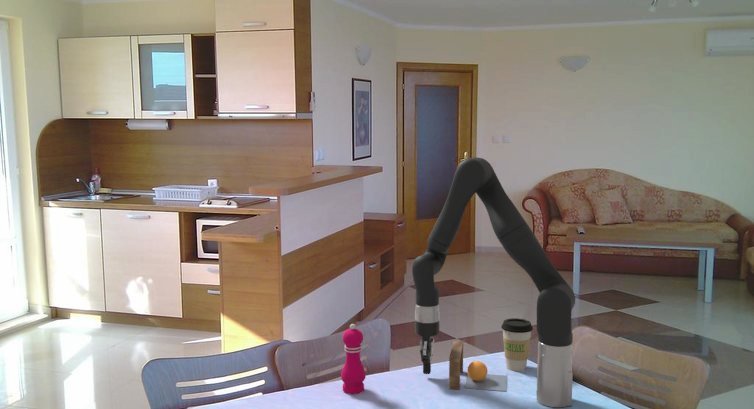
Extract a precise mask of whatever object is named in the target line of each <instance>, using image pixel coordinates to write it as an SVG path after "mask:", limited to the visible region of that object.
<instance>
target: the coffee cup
mask: <svg viewBox="0 0 754 409" xmlns="http://www.w3.org/2000/svg"><path fill="white" fill-rule="evenodd" d="M501 329H502V341H503V351H504V358H505V364H506V365H505V367H506V369H507V370H508V371H509V370H510V371H513V372H522V371H525V370H526V369H527V365H528V364H527V363H528V359H529V352H530V347H531V340H532V337H531V336H532V331H533V325H532V323H531V321H530V320H527V319H524V318H518V317H517V318H513V317H512V318H507V319H504V320H503V322H502V324H501Z"/></svg>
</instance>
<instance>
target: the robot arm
mask: <svg viewBox="0 0 754 409" xmlns="http://www.w3.org/2000/svg"><path fill="white" fill-rule="evenodd" d="M454 172H455V173H454V175H453V179H452V182H451V186H450V189H449V191H448V195H447V198H446V199H445V202H444V205H443V207H442V210H441V212H440V213H439V216H438V218H437V220H436V222H435V223H434V226H433V227H432V229H431V231H430V233H429V235H428V238H427V248H426V250H425V252H424V253H423V254H421V255H419V256H417V257H415V259H414V260H413V262H412V267H411V273H412V279H413V285H414V289H415V307H414V333H415V334H416V335H417V336H420V337H421V339H420V340H419V347H420V350H419V352H420V353H419V354H420V359H421V363H422V374H425V375H430V374H431V372H432V359H433V358H432V357H433V353H434V344H435V338H434V337H436V336H438V335H439V334H440V327H441V326H440V324H441V323H440V322H441V321H440V316H441V314H440V313H441V312H440V292H439V291H440V290H439V287H438V286H437V285H436V284H435V279H434V278H435V277H434V276H435V275H437V274H438V273H439V272H440V271H441V270H442V269H443V266H444V264H445V262H446V259H447V255H448V252H449V250H450V247H451V246H452V244H453V242H454V240H455V238H456V236H457V235H458V232H459V230H460V227H461V224H462V220H463V217H464V213H465V210H466V209H467V206H468V204H469V202H470V200H472V198H473V196H474V195H475V194H476V195H477V197H478V198H479V199H480V201H481V202H482V203H483V205H484V207H485V209H486V212H487V215H488V218H489V221H490V224H491V227H492V229H493V233H494V234H495V236H496V238H497V240H498V241H499V243H500V244H501V246H502V248H503V249H504V250H505V252H506V253H507V255H508V256H509V257H510V258H511V259H512V260H513V261H514V262H515V263H516V264H517V265H518V266H519V267H520V268H522V269H523V270H524V271H525V273H526V274H527V275H528V276H529V277H530V278H531V280H532V282H533V284H534V286H535V287H536V289H537V290H538V292H539V294H538V295H537V296H538V297H537V299H536V331H537V364H536V365H537V368H536V369H537V371H536V374H537V375H536V401H537V402H538V403H539V404H541V405H542V406H546V407H551V408H564V407H572V405H573V404H572V403H573V401H572V400H573V369H572V368H573V367H572V366H573V340H574V339H573V338H574V335H573V331H572V310H573V308H574V306H575V305H576V296H575V293H574V291H573V289H572V287H571V286H570V285H569V284H568V283H567V281H566V280H565V278H564V277H563V276H562V275H561V273H560V272H559V271H558V270H557V269H556V267H555V266H554V264H553V263H552V262H551V260H550V258H549V257H548V255H547V254H546V251H545V249H544V247H543V246H542V245H541V244H540V242H539V240H538V238H537V237H536V235H535V234H534V232H533V231H532V229H531V227H530V226H529V224H528V223H527V221H526V219H525V218H524V217H523V215H522V214H521V213H520V211H519V210H518V208H517V207H516V205H515V204H514V203H513V201H512V200H511V198H510V197H509V195H508V194H507V193H506V191H505V189H504V187H503V186H502V184H501V182H500V180H499V178H498V176H497V173H496V172H495V170H494V168H493V166H492V164H491V163H490V162H489V161H487V160H486V159H485V158H483V157H470V158H466V159H463V160H462V161H460V163H459V164H458V165H457V167H456V170H455V171H454Z"/></svg>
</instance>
